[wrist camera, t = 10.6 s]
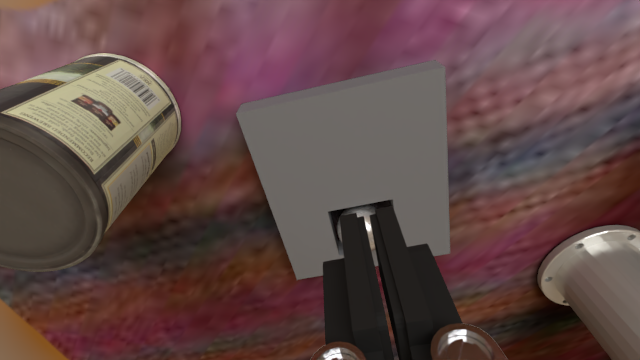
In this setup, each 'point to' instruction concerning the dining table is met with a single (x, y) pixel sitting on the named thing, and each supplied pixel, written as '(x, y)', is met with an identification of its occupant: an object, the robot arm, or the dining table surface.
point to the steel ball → (364, 211)
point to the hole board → (353, 158)
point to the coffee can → (77, 156)
